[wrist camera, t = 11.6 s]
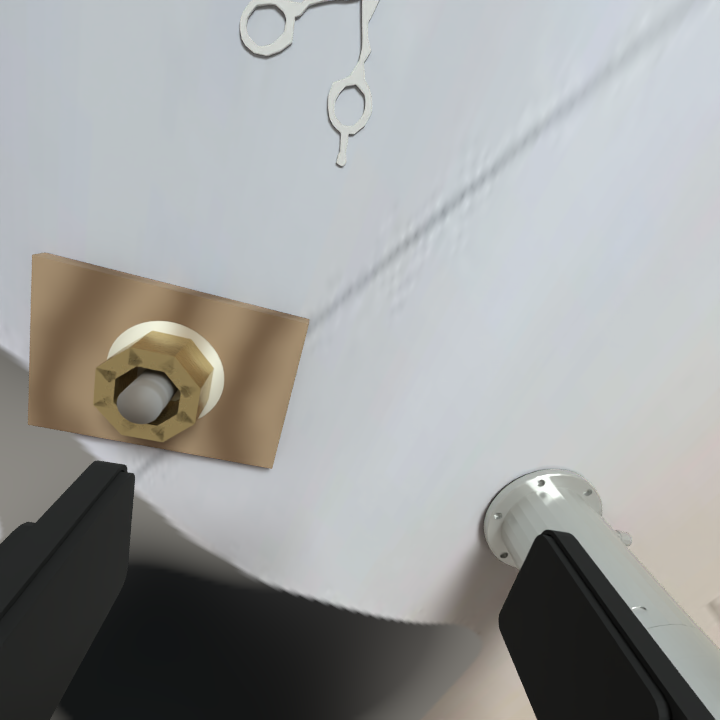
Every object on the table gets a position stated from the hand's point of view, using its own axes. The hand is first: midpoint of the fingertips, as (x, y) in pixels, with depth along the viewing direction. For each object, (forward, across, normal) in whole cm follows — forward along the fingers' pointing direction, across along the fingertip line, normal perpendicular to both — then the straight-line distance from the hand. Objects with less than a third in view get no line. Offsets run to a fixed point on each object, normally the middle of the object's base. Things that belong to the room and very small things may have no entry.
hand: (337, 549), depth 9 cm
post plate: (+26, +12, +8) cm, 29 cm away
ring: (+24, +12, +8) cm, 28 cm away
